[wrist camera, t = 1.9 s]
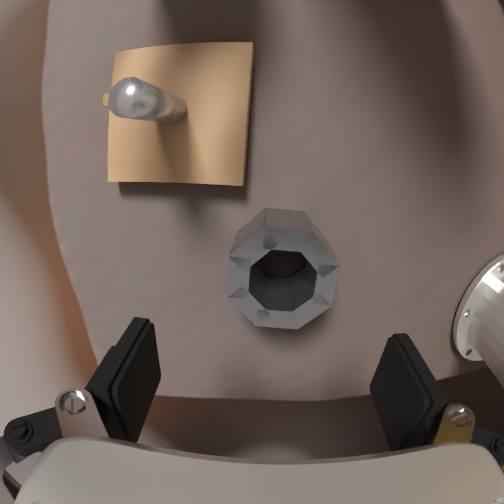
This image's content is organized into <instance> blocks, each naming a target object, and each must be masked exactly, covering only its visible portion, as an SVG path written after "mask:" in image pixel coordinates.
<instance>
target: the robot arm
mask: <svg viewBox="0 0 504 504" xmlns="http://www.w3.org/2000/svg"><path fill="white" fill-rule="evenodd" d="M453 341H454V344H455V347H456V348H457V350H458V351H459V353H460V354H461V355H462V356H463V357H464V358H465V359H468V360H470V361H480V360H484V361H485V363H486V364H487V365H488V367H489V368H490V369H491V371H492V372H493V374H494V375H495V376H496V377H497V379H498V380H499V382H500V383H501V385H502V386H503V388H504V254H503V255H501V256H499V257H497V258H496V259H494V260H493V261H491V262H490V263H489V264H488V265H487V266H486V267H485V268H484V269H482V270H481V272H480V273H479V274H478V275H477V276H476V278H475V279H474V280H473V282H472V283H471V285H470V286H469V288H468V289H467V291H466V293H465V295H464V296H463V298H462V300H461V302H460V305H459V307H458V310H457V313H456V316H455V320H454V326H453ZM160 379H161V371H160V364H159V358H158V351H157V344H156V336H155V328H154V324H153V323H150V321H149V319H146V318H139V317H134V318H133V320H132V321H131V323H130V324H129V326H128V328H127V329H126V331H125V332H124V334H123V335H122V337H121V338H120V340H119V341H118V343H117V345H116V346H112V347H111V348H110V349H109V351H108V352H107V354H106V355H105V357H104V359H103V360H102V362H101V363H100V365H99V366H98V368H97V370H96V371H95V373H94V374H93V376H92V378H91V379H90V381H89V382H88V384H87V386H86V387H85V389H82V388H76V387H75V388H68V389H66V390H64V391H62V392H61V393H60V394H59V395H58V396H57V397H56V400H55V407H53V408H50V409H46V410H43V411H40V412H37V413H33V414H30V415H27V416H23V417H19V418H16V419H14V420H12V421H10V422H9V423H8V424H7V426H6V427H5V430H4V435H3V436H2V437H0V504H504V437H502V436H500V435H497V434H495V433H493V432H490V431H488V430H486V429H484V428H481V427H479V426H476V425H475V416H474V414H473V412H472V410H471V409H469V408H468V407H467V406H465V405H463V404H459V403H458V404H451V405H449V406H448V405H447V403H446V401H447V399H446V397H445V395H444V393H443V392H442V390H441V388H440V387H439V385H438V383H437V381H436V379H435V378H434V376H433V374H432V373H431V371H430V369H429V368H428V366H427V364H426V363H425V361H424V360H423V358H422V356H421V355H420V353H419V351H418V350H417V348H416V347H415V345H414V343H413V342H412V340H411V339H410V337H409V336H408V334H406V333H401V334H393V335H392V337H389V338H388V340H387V343H386V346H385V348H384V351H383V354H382V356H381V359H380V362H379V364H378V367H377V369H376V372H375V374H374V377H373V379H372V381H371V384H370V393H371V396H372V398H373V401H374V404H375V407H376V410H377V413H378V416H379V418H380V421H381V424H382V427H383V430H384V433H385V436H386V439H387V443H388V445H389V449H390V451H391V452H384V453H378V454H370V455H362V456H353V457H341V458H327V459H307V460H270V459H269V460H268V459H246V458H233V457H221V456H211V455H203V454H196V453H189V452H182V451H176V450H170V449H164V448H159V447H154V446H149V445H143V444H139V443H136V442H137V441H138V439H139V436H140V433H141V430H142V427H143V425H144V422H145V419H146V416H147V414H148V411H149V409H150V406H151V403H152V400H153V398H154V395H155V393H156V390H157V387H158V385H159V382H160Z"/></svg>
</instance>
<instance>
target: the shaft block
mask: <svg viewBox="0 0 504 504" xmlns="http://www.w3.org/2000/svg"><path fill="white" fill-rule="evenodd" d="M253 55H254V46H253V42H204V43H185V44H172V45H162V46H153V47H145V48H138V49H132V50H126V51H120V52H116V53H115V61H114V69H113V77H112V87H111V90H112V88H113V86H114V85H115V84H116V83H117V82H118V81H120V80H121V79H123V78H126V77H135V78H138V79H140V80H142V81H145V82H147V83H149V84H152V85H154V86H156V87H158V88H160V89H163V90H165V91H167V92H169V93H171V94H173V95H175V96H178V97H180V98H181V99H183V100H184V101H185V103H186V105H187V114H186V116H185V118H184V119H183V120H182V121H181V122H180V123H178V124H174V125H169V124H163V123H157V122H150V121H143V120H136V119H129V118H121V117H118V116H116V115H114V114H113V113H112V111H111V110H110V112H109V131H108V182H171V183H198V184H218V185H234V186H243V185H244V183H245V168H246V152H247V138H248V123H249V109H250V95H251V82H252V68H253Z"/></svg>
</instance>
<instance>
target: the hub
mask: <svg viewBox="0 0 504 504" xmlns="http://www.w3.org/2000/svg"><path fill="white" fill-rule="evenodd" d="M271 250H284V251H296V252H301V253H302V254H303V255H304V256H305V258H306V264H305V266H304V267H303V268H301V269H300V270H299V271H297V272H296V273H295V274H293V275H292V276H291V277H289V278H279V277H267V276H266V275H265V274H264V273H263V271H262V270H261V269H260V268H259V267H258V266H257V265H256V264H255V262H257V261H258V260H259V259H261V258H262V257H263V256H264V255H266V254H267V253H268V252H269V251H271ZM339 269H340V264H339V262H338V261H337V259H336V257H335V255H334V253H333V251H332V249H331V248H330V246H329V244H328V242H327V240H326V239H325V238H324V236H323V235H322V234H321V233H320V231H319V230H318V229H317V228H316V226H315V225H314V224H313V223H312V221H311V220H310V219H309V218H308V216H307V215H306V214H305V213H304V212H301V211H290V210H279V209H267V208H266V209H264V210H263V211H262V212H261V213H260V214H258V215H257V216H256V217H255V218H254V219H252V220H251V221H250V222H249V223H248V224H246V225H245V226H244V227H243V228H242V229H240V230H239V231H238V232H237V235H236V237H235V240H234V243H233V245H232V248H231V251H230V253H229V256H228V278H227V298H228V299H229V300H230V301H231V302H232V303H233V304H234V305H235V306H236V307H237V308H238V309H239V310H240V311H241V312H242V313H243V314H244V315H245V316H246V317H247V318H248V319H249V320H250V321H251V322H252V323H253V324H254V325H255V326H260V327H273V328H287V329H299V328H300V327H302V326H303V325H305V324H306V323H308V322H309V321H311V320H312V319H314V318H315V317H317V316H318V315H319V314H321V313H322V312H324V311H325V310H327V309H328V308H329V307H331V306H332V304H333V299H334V295H335V290H336V285H337V280H338V274H339Z"/></svg>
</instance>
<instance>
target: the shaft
mask: <svg viewBox="0 0 504 504" xmlns="http://www.w3.org/2000/svg"><path fill="white" fill-rule="evenodd" d="M103 106H106V107H110V110H111V111H112V113H113V114H114V115H116V116H118V117H121V118H129V119H136V120H143V121H150V122H157V123H163V124H169V125H174V124H178V123H180V122H181V121H182V120H183V119H184V118H185V116H186V114H187V105H186V103H185V101H184V100H183V99H181V98H180V97H178V96H175V95H173V94H171V93H169V92H167V91H165V90H163V89H160V88H158V87H156V86H154V85H152V84H149V83H147V82H145V81H142V80H140V79H138V78H135V77H126V78H123V79H121V80H120V81H118V82H117V83H116V84H115V85H114V86H113V88H112V90H111V92H110V93H108V94H104V98H103Z"/></svg>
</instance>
